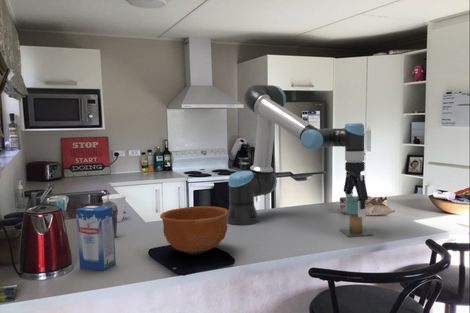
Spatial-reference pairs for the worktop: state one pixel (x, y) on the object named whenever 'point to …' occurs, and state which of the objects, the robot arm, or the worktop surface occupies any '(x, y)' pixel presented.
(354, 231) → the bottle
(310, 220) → the worktop surface
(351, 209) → the cap
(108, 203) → the grey bottle
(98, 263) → the milk carton
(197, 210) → the bowl
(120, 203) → the cup
